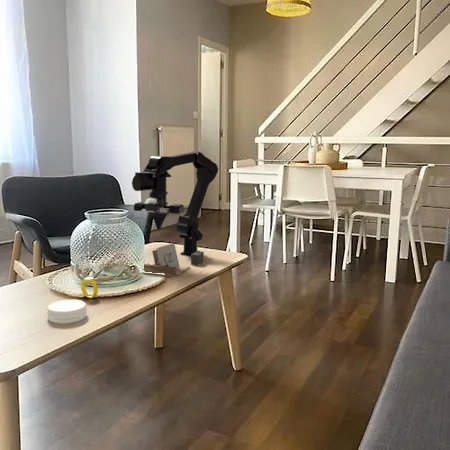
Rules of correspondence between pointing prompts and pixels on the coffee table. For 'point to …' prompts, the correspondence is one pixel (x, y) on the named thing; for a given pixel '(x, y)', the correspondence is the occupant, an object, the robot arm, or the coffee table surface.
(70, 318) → the coaster
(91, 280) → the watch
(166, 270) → the bay
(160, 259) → the electrical switch
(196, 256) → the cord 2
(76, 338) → the coffee table surface
